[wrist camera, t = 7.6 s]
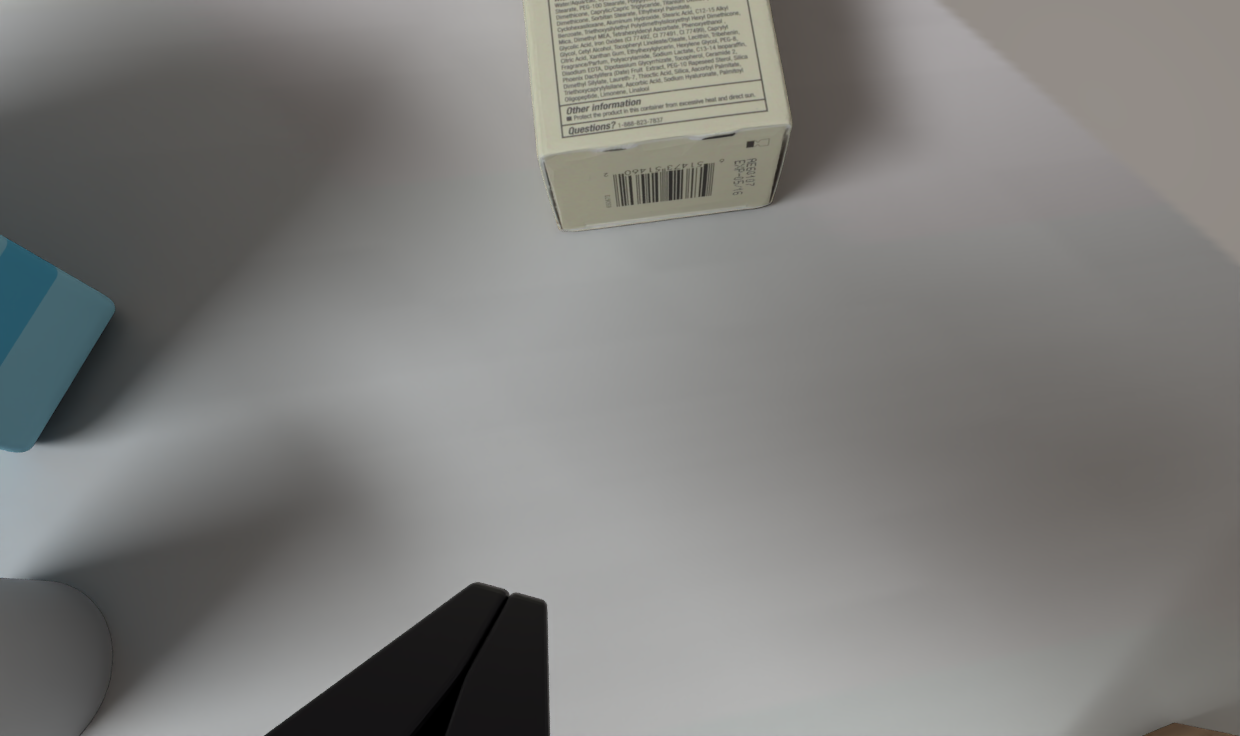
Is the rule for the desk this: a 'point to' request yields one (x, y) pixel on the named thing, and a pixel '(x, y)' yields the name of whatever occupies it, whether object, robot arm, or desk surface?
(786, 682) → the desk surface
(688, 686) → the desk surface
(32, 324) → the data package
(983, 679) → the desk surface
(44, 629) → the grey cylinder
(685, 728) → the desk surface
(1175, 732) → the walnut block
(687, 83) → the skincare box
